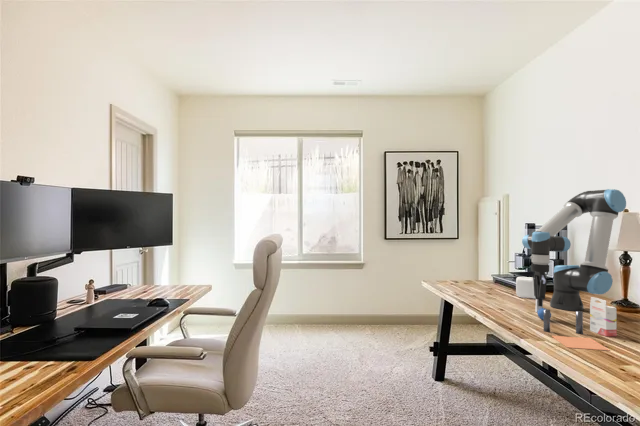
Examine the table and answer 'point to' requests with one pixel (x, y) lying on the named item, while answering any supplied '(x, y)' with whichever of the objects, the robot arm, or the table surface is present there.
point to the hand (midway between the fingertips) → (539, 312)
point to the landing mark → (580, 343)
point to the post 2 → (579, 322)
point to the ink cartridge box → (602, 318)
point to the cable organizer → (525, 287)
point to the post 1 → (546, 320)
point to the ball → (542, 313)
